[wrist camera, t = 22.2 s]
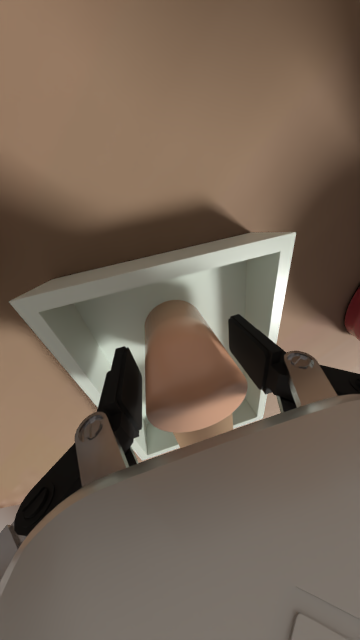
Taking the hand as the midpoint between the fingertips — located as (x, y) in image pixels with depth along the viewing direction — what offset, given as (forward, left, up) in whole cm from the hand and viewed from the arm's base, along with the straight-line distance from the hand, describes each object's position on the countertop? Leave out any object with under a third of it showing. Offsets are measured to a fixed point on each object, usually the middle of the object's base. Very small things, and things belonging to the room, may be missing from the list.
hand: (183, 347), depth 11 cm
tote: (0, +4, -4) cm, 5 cm away
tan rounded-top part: (0, 0, -3) cm, 3 cm away
